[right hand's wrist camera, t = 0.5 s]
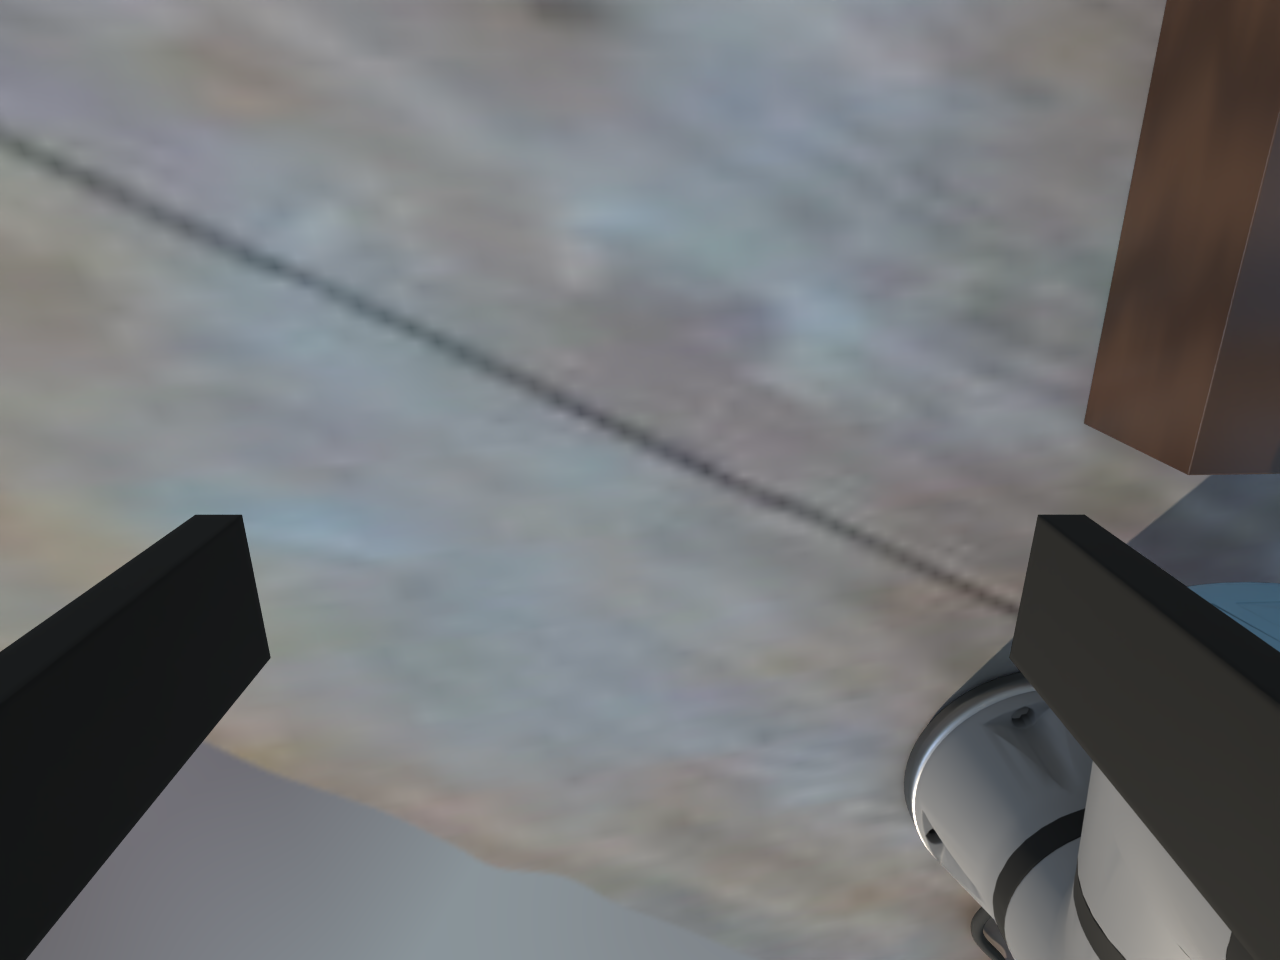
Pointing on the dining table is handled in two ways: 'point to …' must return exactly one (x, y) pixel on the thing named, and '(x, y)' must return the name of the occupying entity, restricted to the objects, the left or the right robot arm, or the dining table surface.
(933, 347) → the dining table surface
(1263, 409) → the walnut beam
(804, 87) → the dining table surface
